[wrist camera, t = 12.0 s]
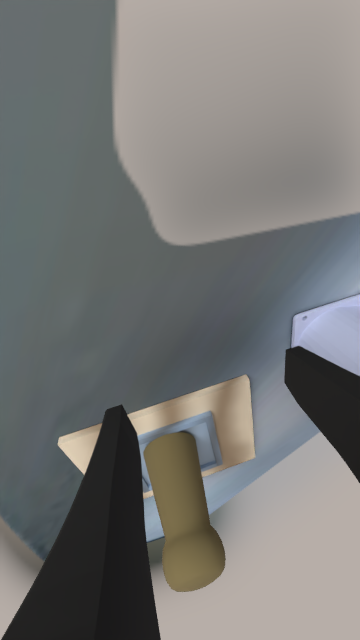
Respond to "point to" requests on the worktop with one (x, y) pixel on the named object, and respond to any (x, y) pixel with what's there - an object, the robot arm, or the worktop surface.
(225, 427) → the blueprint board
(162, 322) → the worktop surface
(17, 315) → the worktop surface
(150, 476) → the cork
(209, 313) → the worktop surface
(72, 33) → the worktop surface
